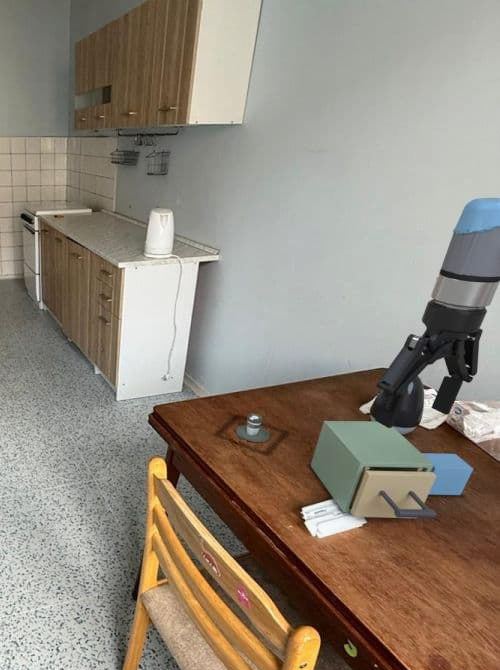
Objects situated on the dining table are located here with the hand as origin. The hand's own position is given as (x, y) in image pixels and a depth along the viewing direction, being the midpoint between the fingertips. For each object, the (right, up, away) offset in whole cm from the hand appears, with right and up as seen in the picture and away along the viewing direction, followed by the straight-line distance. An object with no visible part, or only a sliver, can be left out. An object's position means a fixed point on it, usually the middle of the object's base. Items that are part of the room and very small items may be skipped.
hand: (412, 417), depth 85 cm
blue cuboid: (+13, -15, +11) cm, 23 cm away
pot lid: (-16, -6, +30) cm, 34 cm away
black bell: (+18, -5, +30) cm, 36 cm away
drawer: (-3, -17, +6) cm, 18 cm away
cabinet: (-3, -15, +11) cm, 19 cm away
